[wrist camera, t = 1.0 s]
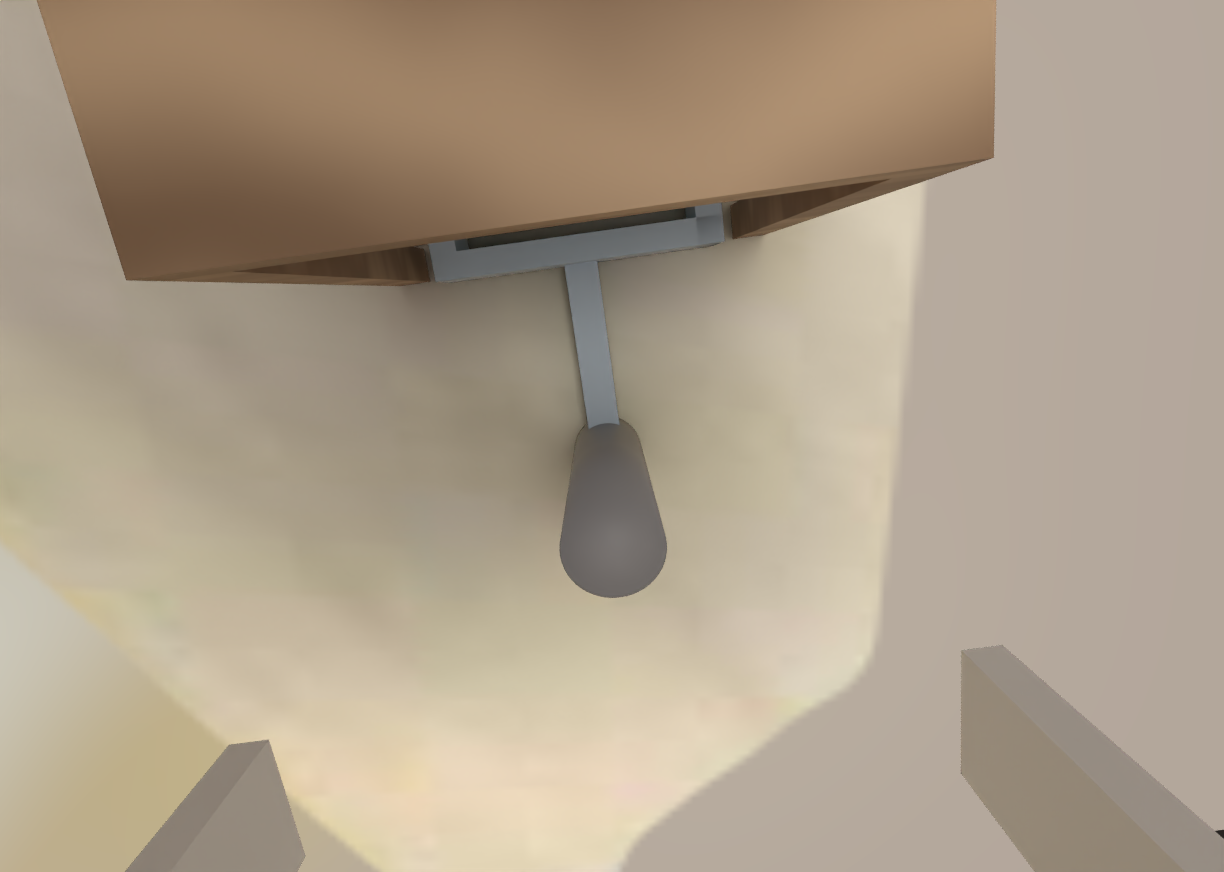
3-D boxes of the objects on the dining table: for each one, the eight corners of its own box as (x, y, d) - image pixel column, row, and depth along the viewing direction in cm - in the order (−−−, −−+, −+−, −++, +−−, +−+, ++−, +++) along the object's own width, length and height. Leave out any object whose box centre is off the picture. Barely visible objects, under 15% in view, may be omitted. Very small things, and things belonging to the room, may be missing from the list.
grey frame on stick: (397, 6, 27) (226, -234, 15) (687, -36, 27) (762, -316, 15) (492, 496, 33) (427, 622, 21) (732, 463, 33) (815, 571, 20)
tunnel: (342, 21, 28) (-107, -447, 10) (744, -37, 28) (1006, -622, 10) (399, 285, 31) (126, 280, 13) (764, 234, 30) (993, 157, 13)
